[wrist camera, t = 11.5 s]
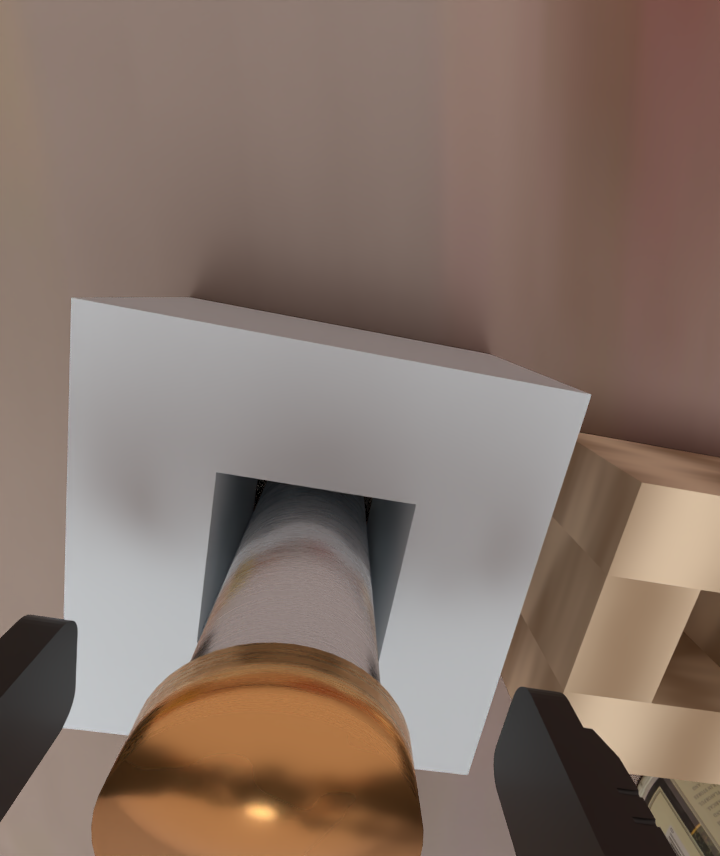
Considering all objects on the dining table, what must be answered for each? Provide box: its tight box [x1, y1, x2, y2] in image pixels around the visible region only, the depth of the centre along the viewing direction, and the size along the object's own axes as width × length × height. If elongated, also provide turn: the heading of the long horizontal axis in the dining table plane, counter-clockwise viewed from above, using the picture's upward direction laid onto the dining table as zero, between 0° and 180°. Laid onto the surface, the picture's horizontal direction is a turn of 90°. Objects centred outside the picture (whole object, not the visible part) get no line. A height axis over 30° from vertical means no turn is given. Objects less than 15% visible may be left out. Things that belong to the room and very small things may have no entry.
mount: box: [501, 432, 720, 785], centre depth 19 cm, size 11×11×6 cm
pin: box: [91, 480, 423, 856], centre depth 13 cm, size 4×4×14 cm
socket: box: [63, 297, 591, 775], centre depth 16 cm, size 12×12×8 cm
